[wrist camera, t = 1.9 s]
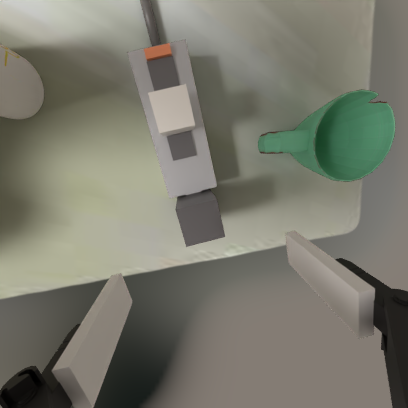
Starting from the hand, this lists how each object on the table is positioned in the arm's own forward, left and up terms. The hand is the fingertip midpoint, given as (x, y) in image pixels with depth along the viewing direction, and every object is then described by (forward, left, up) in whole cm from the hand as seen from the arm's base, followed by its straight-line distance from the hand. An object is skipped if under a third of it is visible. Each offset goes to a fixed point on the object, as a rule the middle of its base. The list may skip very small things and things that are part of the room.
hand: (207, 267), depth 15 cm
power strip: (0, +18, -18) cm, 25 cm away
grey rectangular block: (0, +2, -17) cm, 18 cm away
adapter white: (0, +13, -14) cm, 19 cm away
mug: (+17, +6, -18) cm, 25 cm away
